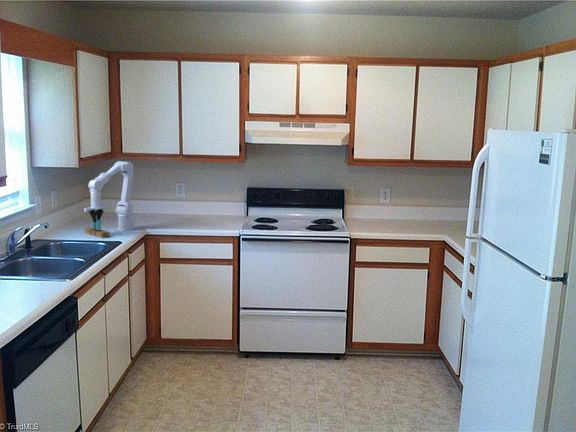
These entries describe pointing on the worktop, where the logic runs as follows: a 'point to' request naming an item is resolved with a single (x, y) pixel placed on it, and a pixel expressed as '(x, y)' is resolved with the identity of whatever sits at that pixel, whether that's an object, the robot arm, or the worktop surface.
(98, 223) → the clip
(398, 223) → the worktop surface
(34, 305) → the worktop surface
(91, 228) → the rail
